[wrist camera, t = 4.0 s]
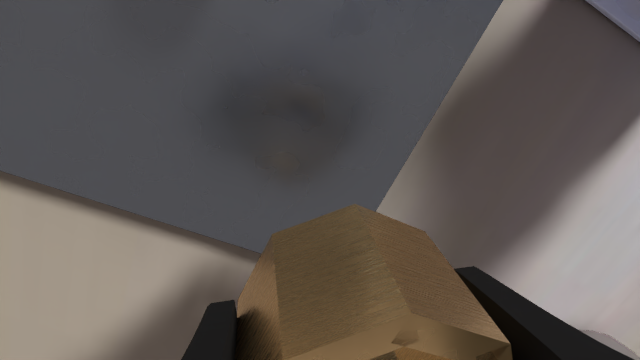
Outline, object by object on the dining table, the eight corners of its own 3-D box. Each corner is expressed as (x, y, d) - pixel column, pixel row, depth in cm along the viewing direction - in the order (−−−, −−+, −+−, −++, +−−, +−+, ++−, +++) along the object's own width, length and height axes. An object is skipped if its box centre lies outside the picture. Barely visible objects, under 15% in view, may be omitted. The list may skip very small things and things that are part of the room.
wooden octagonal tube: (468, 248, 11) (569, 361, 8) (375, 378, 13) (422, 520, 9) (299, 181, 10) (327, 287, 6) (216, 341, 11) (198, 498, 8)
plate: (527, -76, 16) (686, -122, 10) (330, 260, 21) (359, 355, 16) (92, -424, 11) (-103, -950, 5) (-23, 142, 16) (-181, 220, 10)
